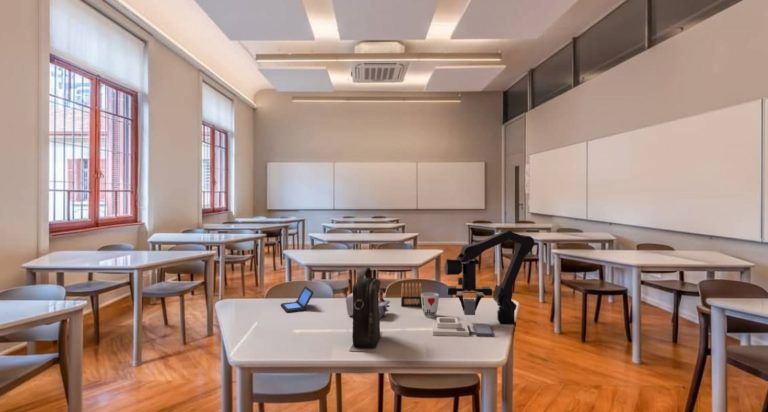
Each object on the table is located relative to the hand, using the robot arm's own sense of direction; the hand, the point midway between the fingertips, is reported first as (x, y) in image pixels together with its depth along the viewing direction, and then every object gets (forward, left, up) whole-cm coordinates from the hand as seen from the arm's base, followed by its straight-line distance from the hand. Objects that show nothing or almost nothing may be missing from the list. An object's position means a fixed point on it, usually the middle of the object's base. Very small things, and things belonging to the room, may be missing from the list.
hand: (469, 310), depth 176 cm
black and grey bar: (0, +14, -6) cm, 15 cm away
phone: (-4, +11, -6) cm, 13 cm away
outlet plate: (+9, +10, -6) cm, 14 cm away
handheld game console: (+83, -20, -6) cm, 85 cm away
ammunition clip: (+26, -27, -6) cm, 38 cm away
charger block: (0, 0, -1) cm, 1 cm away
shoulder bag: (+41, +26, -6) cm, 49 cm away
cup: (+17, -10, -6) cm, 20 cm away
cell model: (+45, -9, -6) cm, 47 cm away
